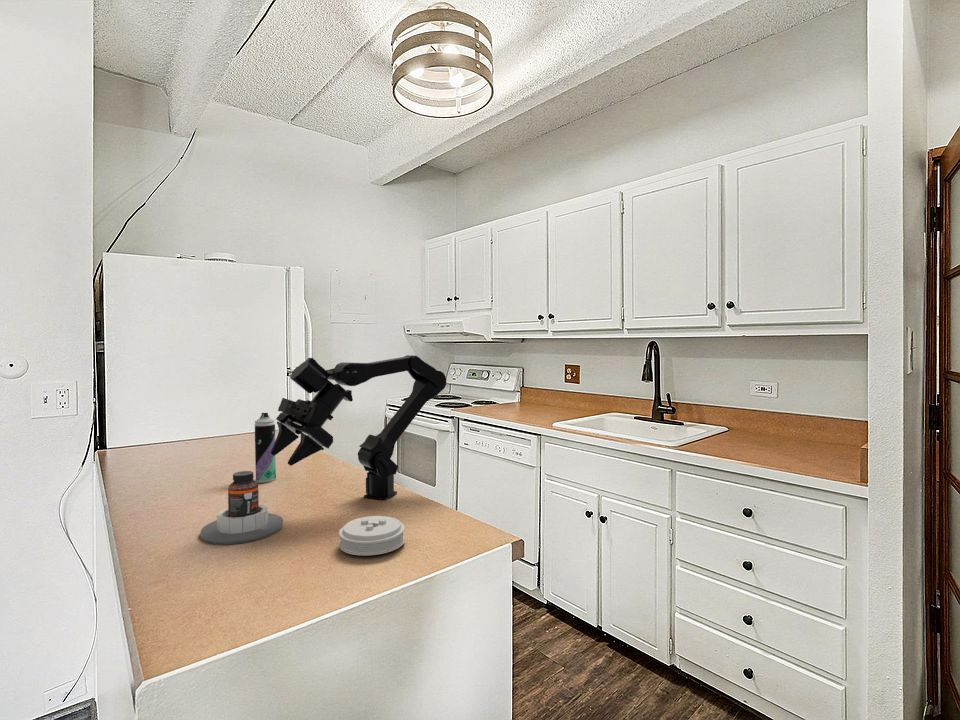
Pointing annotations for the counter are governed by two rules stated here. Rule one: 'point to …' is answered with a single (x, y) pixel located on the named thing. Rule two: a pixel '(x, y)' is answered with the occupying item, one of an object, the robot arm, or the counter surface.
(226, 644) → the counter surface
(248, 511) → the supplement bottle
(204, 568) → the counter surface
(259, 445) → the spray can
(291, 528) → the counter surface
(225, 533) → the ring mount
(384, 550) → the lid
